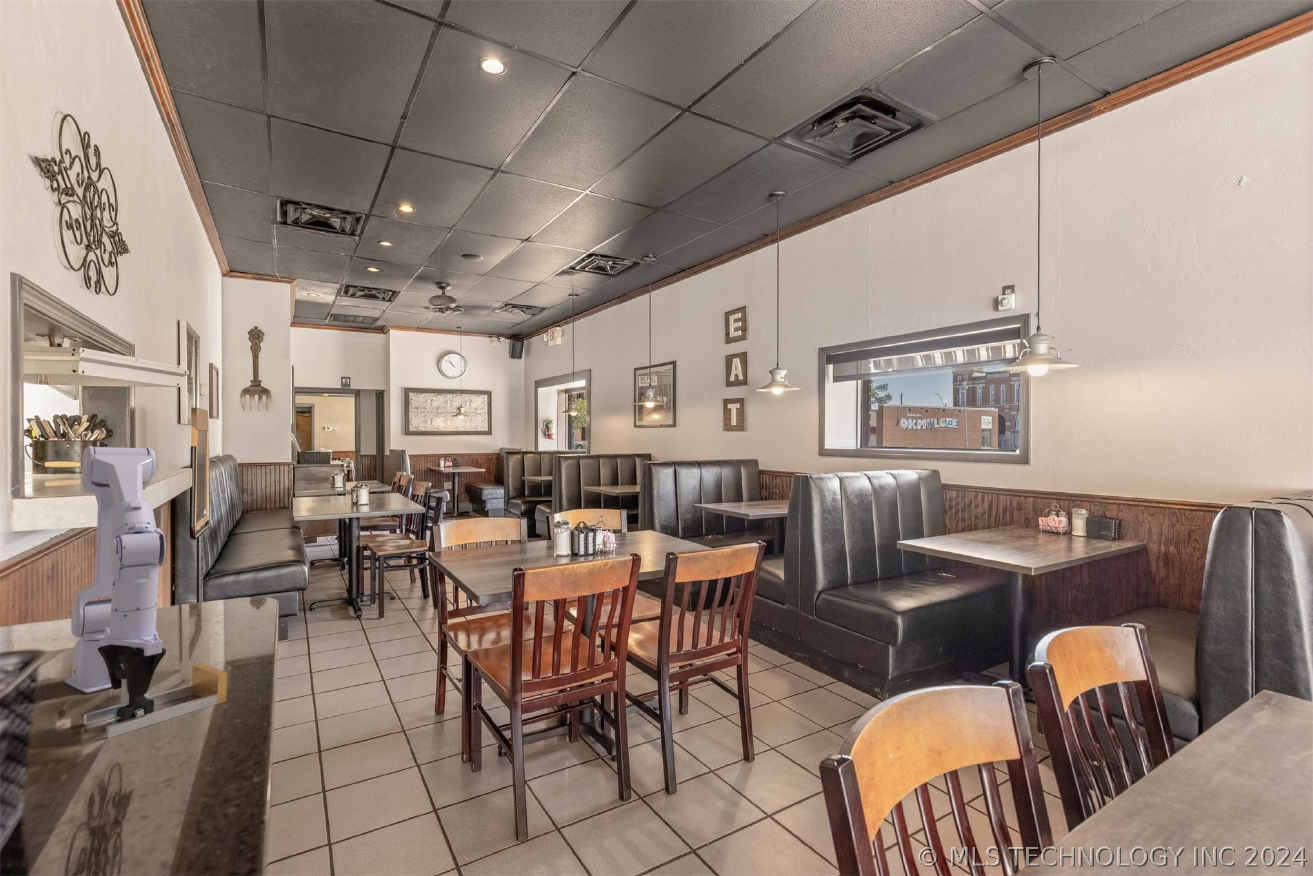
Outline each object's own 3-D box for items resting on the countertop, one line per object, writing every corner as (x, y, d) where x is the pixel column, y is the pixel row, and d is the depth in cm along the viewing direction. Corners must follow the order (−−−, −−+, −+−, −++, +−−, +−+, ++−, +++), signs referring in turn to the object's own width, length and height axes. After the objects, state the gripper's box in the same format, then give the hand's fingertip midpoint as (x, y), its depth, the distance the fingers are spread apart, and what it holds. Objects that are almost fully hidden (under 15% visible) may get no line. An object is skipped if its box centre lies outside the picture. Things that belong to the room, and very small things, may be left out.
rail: (83, 724, 97) (85, 692, 97) (200, 690, 111) (201, 663, 111) (108, 738, 93) (110, 705, 93) (225, 701, 107) (227, 672, 107)
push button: (120, 733, 94) (123, 668, 94) (92, 729, 95) (96, 665, 95) (162, 715, 101) (165, 654, 101) (136, 711, 102) (140, 651, 102)
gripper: (82, 605, 98) (77, 689, 98) (124, 619, 92) (119, 710, 91) (136, 597, 105) (131, 676, 104) (179, 610, 98) (174, 694, 97)
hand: (129, 691), depth 98 cm, fingers closed on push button, 5 cm apart
